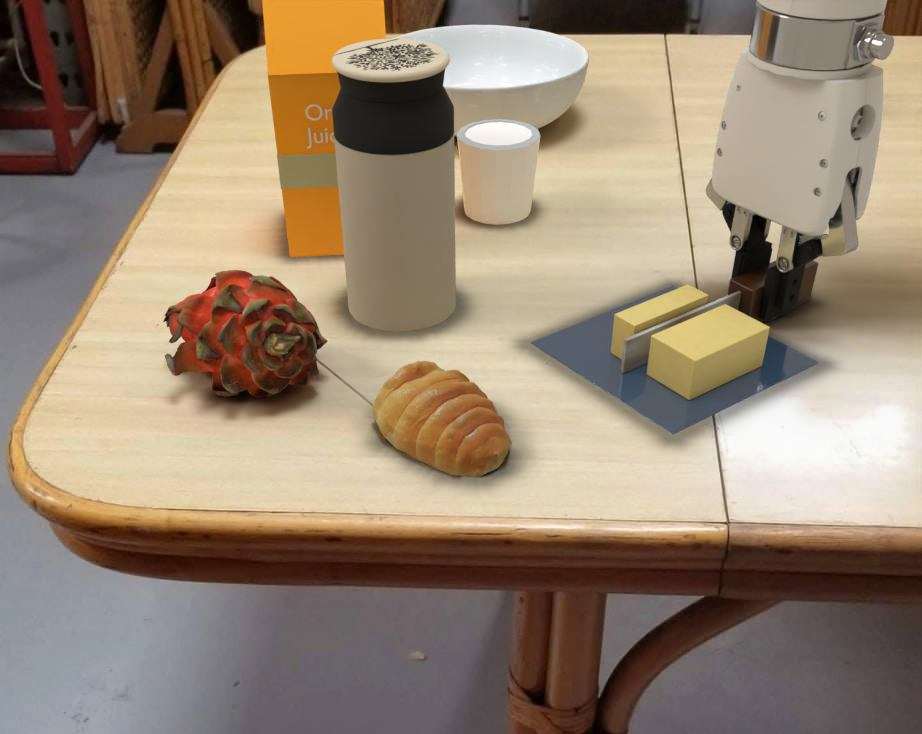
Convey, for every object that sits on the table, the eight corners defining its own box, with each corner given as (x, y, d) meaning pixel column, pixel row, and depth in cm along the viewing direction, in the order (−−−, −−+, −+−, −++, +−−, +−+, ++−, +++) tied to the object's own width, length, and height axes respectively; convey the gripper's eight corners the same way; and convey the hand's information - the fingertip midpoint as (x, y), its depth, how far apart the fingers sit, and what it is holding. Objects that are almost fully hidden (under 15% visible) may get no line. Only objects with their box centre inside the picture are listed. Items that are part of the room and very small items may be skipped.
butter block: (718, 342, 75) (725, 303, 73) (762, 366, 72) (770, 326, 70) (645, 374, 72) (650, 335, 70) (689, 400, 69) (695, 360, 67)
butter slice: (682, 322, 77) (687, 283, 75) (702, 333, 76) (708, 294, 74) (610, 352, 74) (614, 313, 72) (630, 365, 72) (634, 325, 71)
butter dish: (671, 291, 81) (672, 284, 81) (817, 369, 73) (819, 362, 73) (529, 349, 75) (529, 342, 75) (671, 442, 67) (672, 434, 66)
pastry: (538, 458, 66) (540, 405, 63) (451, 501, 63) (449, 449, 60) (444, 392, 71) (443, 342, 69) (361, 430, 68) (356, 378, 66)
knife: (787, 289, 80) (795, 251, 78) (810, 300, 79) (819, 262, 77) (610, 365, 72) (614, 326, 70) (633, 379, 71) (637, 340, 69)
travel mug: (476, 318, 79) (477, 61, 67) (381, 349, 75) (365, 84, 64) (421, 276, 84) (413, 29, 72) (330, 302, 80) (306, 49, 69)
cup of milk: (521, 193, 95) (523, 113, 91) (549, 225, 90) (553, 142, 86) (447, 204, 94) (446, 123, 89) (471, 236, 89) (471, 152, 84)
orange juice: (292, 221, 91) (261, -40, 78) (395, 216, 92) (382, -44, 79) (289, 262, 86) (255, -12, 72) (399, 257, 86) (386, -16, 73)
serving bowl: (627, 132, 106) (634, 59, 102) (454, 181, 97) (453, 104, 93) (503, 76, 119) (504, 10, 115) (340, 116, 110) (334, 45, 106)
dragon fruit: (327, 436, 70) (192, 410, 76) (370, 320, 72) (234, 303, 77) (254, 380, 63) (110, 355, 68) (304, 252, 64) (158, 238, 70)
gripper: (965, 56, 62) (884, 335, 74) (755, -2, 72) (714, 253, 84) (884, 82, 59) (814, 370, 71) (676, 17, 69) (645, 280, 81)
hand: (760, 305), depth 77 cm, fingers closed on knife, 2 cm apart
